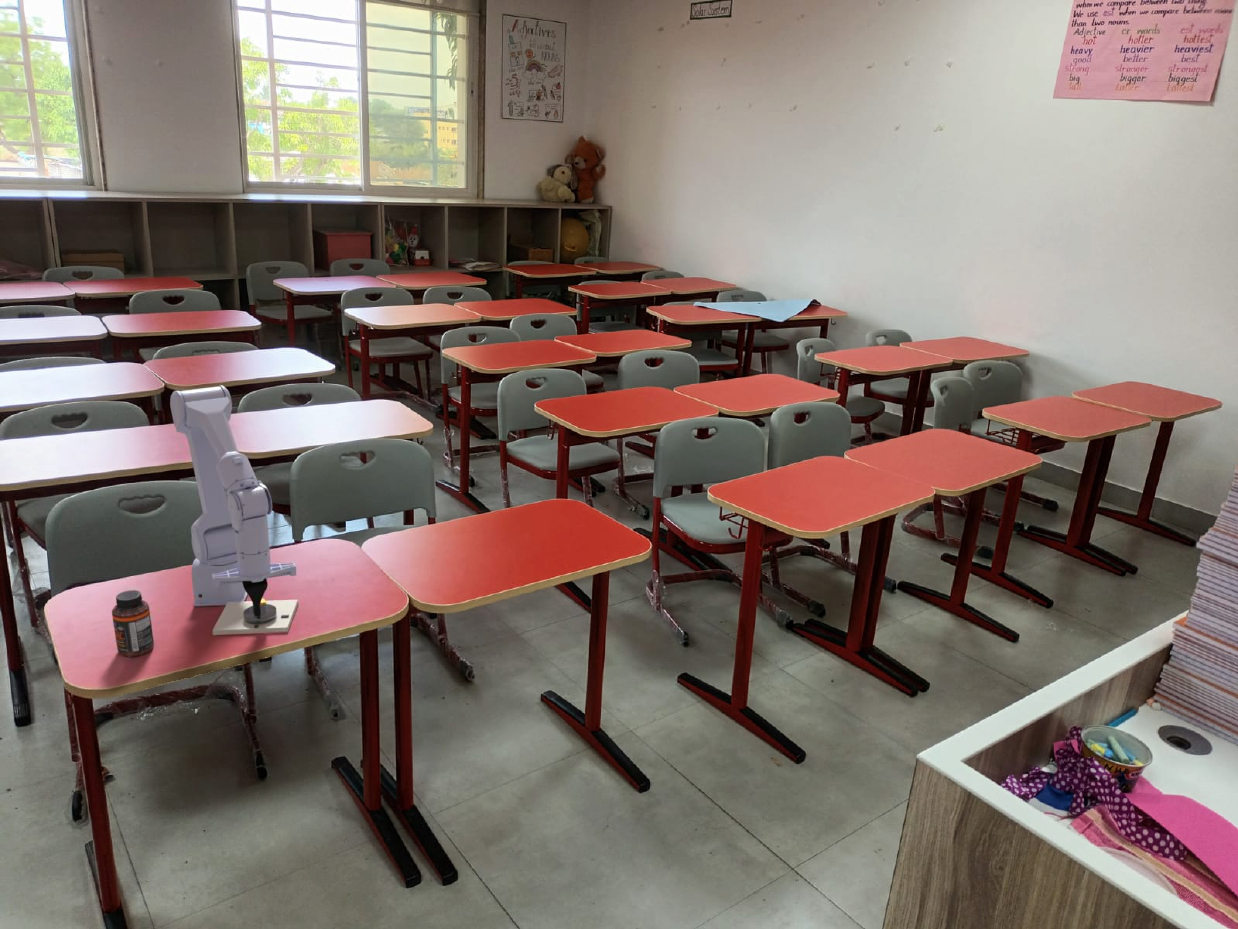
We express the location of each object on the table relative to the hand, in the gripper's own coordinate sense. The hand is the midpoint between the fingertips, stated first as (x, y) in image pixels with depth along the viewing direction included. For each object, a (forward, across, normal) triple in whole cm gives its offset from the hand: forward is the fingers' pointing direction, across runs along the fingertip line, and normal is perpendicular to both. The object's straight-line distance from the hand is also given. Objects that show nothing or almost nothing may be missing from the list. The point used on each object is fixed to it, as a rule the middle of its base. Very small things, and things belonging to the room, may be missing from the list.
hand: (258, 613), depth 166 cm
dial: (+2, +1, +3) cm, 4 cm away
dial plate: (+4, 0, +5) cm, 6 cm away
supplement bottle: (+4, -21, +2) cm, 22 cm away
